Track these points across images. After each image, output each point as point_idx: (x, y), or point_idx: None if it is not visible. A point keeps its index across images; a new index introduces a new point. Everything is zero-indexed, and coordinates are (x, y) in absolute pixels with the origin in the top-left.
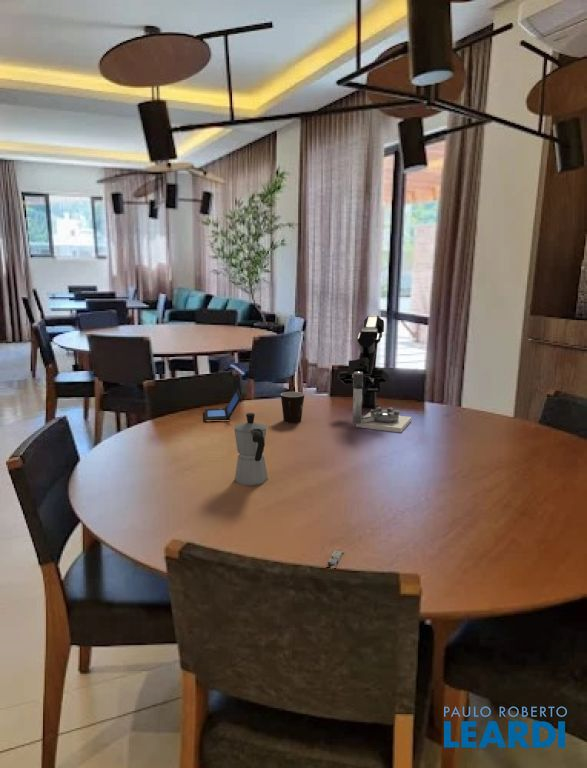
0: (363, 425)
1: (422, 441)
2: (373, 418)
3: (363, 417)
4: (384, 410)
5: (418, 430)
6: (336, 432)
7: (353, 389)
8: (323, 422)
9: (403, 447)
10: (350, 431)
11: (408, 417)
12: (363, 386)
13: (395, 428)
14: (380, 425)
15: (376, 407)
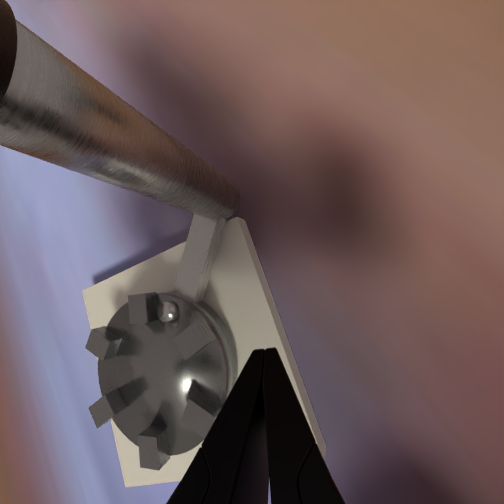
0: None
1: (29, 255)
2: (177, 285)
3: (273, 327)
4: (184, 430)
5: (74, 355)
6: (251, 89)
7: (37, 37)
8: (429, 140)
9: (39, 168)
10: (221, 149)
11: (130, 471)
12: (179, 492)
13: (101, 283)
14: (145, 264)
15: (210, 417)
